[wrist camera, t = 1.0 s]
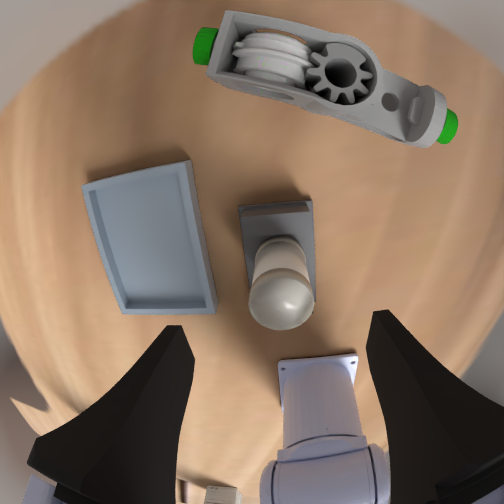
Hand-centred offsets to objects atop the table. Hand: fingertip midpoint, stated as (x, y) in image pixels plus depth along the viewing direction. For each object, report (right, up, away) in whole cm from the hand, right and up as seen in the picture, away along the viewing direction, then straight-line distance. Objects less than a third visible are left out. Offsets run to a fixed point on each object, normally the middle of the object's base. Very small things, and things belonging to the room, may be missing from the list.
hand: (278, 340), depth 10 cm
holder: (+1, +3, +11) cm, 12 cm away
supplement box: (-7, -53, +38) cm, 66 cm away
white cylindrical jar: (+1, +3, +11) cm, 11 cm away
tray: (-9, +4, +12) cm, 15 cm away
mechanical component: (+3, +14, +7) cm, 15 cm away
